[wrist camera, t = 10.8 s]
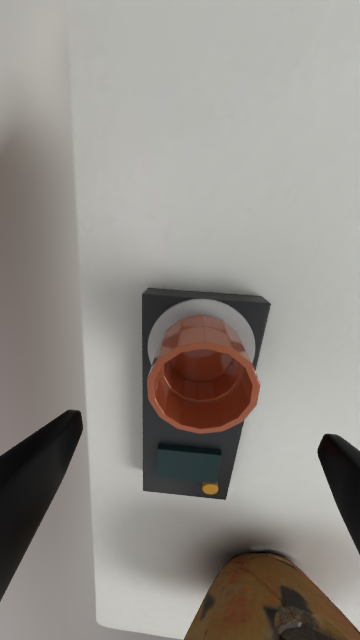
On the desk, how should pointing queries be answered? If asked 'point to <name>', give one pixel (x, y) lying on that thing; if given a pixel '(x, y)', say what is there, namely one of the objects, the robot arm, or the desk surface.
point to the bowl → (267, 604)
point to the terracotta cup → (202, 376)
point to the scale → (179, 445)
